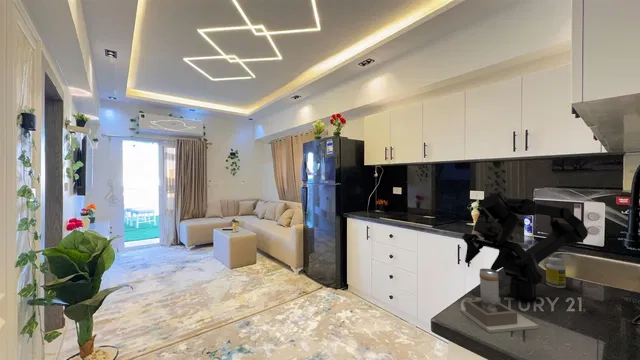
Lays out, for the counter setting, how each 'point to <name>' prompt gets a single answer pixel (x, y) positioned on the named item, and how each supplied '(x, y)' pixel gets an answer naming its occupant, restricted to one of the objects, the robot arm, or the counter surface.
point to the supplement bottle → (555, 273)
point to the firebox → (496, 318)
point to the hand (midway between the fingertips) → (478, 266)
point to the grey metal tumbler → (489, 290)
